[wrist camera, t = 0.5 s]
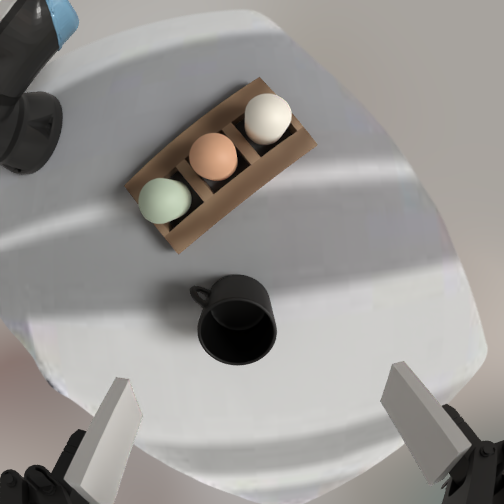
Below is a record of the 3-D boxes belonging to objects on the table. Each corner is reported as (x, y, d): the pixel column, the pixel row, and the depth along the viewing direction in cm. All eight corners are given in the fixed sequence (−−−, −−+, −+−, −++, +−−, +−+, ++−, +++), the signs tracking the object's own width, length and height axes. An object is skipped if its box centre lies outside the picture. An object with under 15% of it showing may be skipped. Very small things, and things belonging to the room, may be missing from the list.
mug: (214, 250, 38) (206, 268, 29) (282, 296, 40) (293, 325, 31) (180, 301, 39) (165, 329, 31) (245, 342, 41) (246, 377, 32)
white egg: (236, 123, 32) (235, 110, 26) (267, 102, 31) (271, 85, 25) (261, 152, 33) (264, 144, 27) (291, 130, 32) (300, 119, 26)
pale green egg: (147, 197, 33) (130, 199, 28) (175, 172, 33) (162, 168, 27) (170, 226, 34) (157, 233, 29) (199, 201, 34) (190, 203, 28)
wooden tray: (132, 186, 35) (124, 185, 32) (258, 85, 33) (259, 77, 30) (183, 249, 38) (178, 254, 35) (312, 148, 35) (317, 144, 32)
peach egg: (190, 159, 33) (179, 153, 27) (221, 135, 32) (216, 123, 26) (214, 189, 34) (208, 188, 28) (245, 164, 33) (246, 158, 27)
